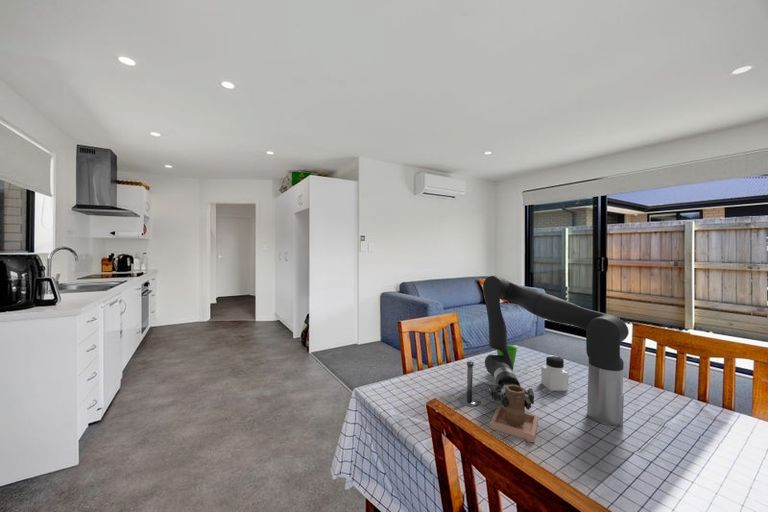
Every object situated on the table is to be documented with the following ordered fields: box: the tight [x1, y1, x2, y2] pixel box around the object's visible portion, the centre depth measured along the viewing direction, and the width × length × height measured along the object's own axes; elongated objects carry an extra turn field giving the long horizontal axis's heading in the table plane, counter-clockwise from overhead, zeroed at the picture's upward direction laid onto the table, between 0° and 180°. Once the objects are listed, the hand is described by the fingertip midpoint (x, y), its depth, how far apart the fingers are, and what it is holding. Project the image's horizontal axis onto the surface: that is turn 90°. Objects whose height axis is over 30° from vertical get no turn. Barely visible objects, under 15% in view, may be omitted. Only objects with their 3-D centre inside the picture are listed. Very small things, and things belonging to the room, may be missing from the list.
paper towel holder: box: [457, 360, 482, 408], centre depth 109 cm, size 8×8×14 cm
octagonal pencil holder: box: [505, 384, 526, 426], centre depth 94 cm, size 5×7×10 cm
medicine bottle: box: [540, 355, 569, 392], centre depth 123 cm, size 7×7×12 cm
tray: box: [489, 404, 539, 443], centre depth 95 cm, size 12×12×2 cm
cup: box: [496, 344, 518, 373], centre depth 137 cm, size 9×9×11 cm
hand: (516, 405), depth 93 cm, fingers closed on octagonal pencil holder, 5 cm apart
